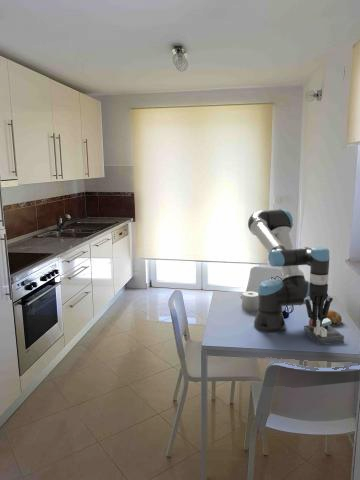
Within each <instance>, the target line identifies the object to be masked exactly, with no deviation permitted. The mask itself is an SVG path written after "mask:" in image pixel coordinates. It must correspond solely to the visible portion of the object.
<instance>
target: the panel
mask: <svg viewBox="0 0 360 480" xmlns="http://www.w3.org/2000/svg"><path fill="white" fill-rule="evenodd" d="M303 327H304V329H303V330H304V331H303V332H304V333H305V334H306V335H308V336H309V338H310V339H312V340H313V341H314V342H316V344H317V345H326V344H327V345H328V344H337V343H338V344H339V343H340V344H341V343H344V342H345V341H344V340H345V335H343V334H342V333H340V332H339V331H338V330H336V329H335V328H334V327H332V325H327V326H324V327H323V328H325V329H326V330H327V337H321V336H320V335H316V334H315V333H314V327H313V326H310V325H309V324H308V325H303Z"/></svg>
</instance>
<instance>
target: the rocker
mask: <svg viewBox="0 0 360 480" xmlns="http://www.w3.org/2000/svg"><path fill="white" fill-rule="evenodd" d="M330 324H332V322H331V320H329V319H328V318H326V319H323V321H322V326H321V327H324V326H327V325H330ZM330 326H331V325H330Z"/></svg>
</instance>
